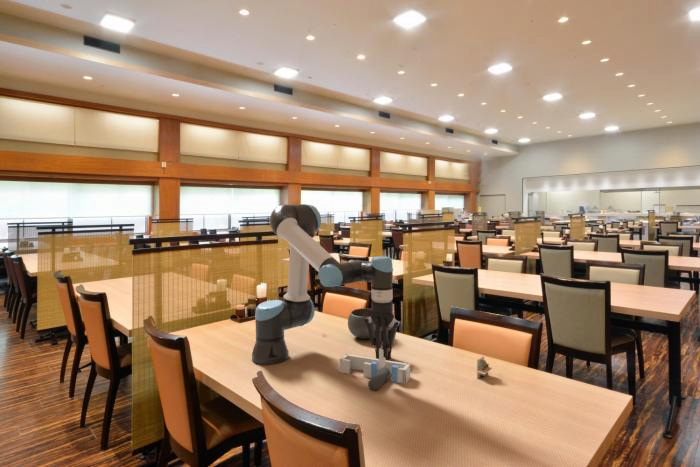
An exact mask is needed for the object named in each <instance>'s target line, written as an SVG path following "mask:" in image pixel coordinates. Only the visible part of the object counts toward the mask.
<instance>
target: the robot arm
mask: <svg viewBox="0 0 700 467" xmlns="http://www.w3.org/2000/svg"><path fill="white" fill-rule="evenodd" d="M269 225H270V228H271V230H272V231H273V233H274V234H275V236H277V237H278V238H279V239H281V240H284V241H286V242H287V243H288V244H289V245H290V246H289V261H288V275H287V276H288V278H287V291H286V293H285V294H283V301H282V300H280V299H273V300H266V301H263V302H261V303H259V304H258V305H257V306H256V308H255V315H254V319H255V342H254V347H253V350H252V353H251V361H252V362H253V363H256V364H258V365H276V364H280V363H282V362H286V361H287V360H288V359H289V358H290V357H289V356H290V354H289V353H290V352H289V350H288V346H287V343H286V340H285V331H286V330H290V329H294V328H297V327H303V326H304V325H308V324H309V323H310V322H312V320H313V318H314V316H315V314H316V313H315V310H316V309H315V305H314V302H313V301H312V299H311V297H310V295H309V294H308V283H309V268H310V265H311V266H312V267H313V268H314V269H315V271H317V272H318V275H317V276H318V277H317V278H318V280H319V281H320V282H319V283H320V284H321V285H322V286H323V287H325V288H326V287H327V288H331V287H332V288H333V287H338V286H342V285H347V284H351V283H352V284H354V283H357V282H366V283H371V284H370V286H371V289H370V291H371V293H370V295H371V306H370V307H371V308H370V309H372V313H371V315H370V317H368V318H366V319H365V320H364V321H365V323H366V324H367V327H368V332H369V336H370V339H369V340H370V344H371V346H372V347H374V348H375V347H376V348H377V356H378V357H379V367H384V366H385V365H386V357H387V356H388V348H391V347H392V348H393V346H394V344H395V338H396V334H397V331H398V327H399V326H400V324H401V321H400V320H397V319H396V318H395V316H394V313H393V311H394V308H393V304H394V303H393V299H394V298H393V295H394V294H393V292H394V291H393V276H394V274H393V273H394V272H393V271H394V267H393V260H392V258H391V257H390V256H372V257H371V260H370V261H369V260H368V261H367V260H361V259H360V260H359V259H350V260H348V261H347V262H340V261H338V260H337V259H336V258H334V257H333V255H331V254H330V253H329V252H328V251H327V250H326V249H325V248H323V246H322V245H321V244H320V243H318V242H317V241H316V240H315V239H314V238H315V234H316V232H317V231H318V230H319V228H320V227H321V225H322V216H321V213H320V211H318V208H317V207H315V206H314V205H311V204H306V203H305V204H304V203H303V204H302V203H299V204H297V203H295V204H288V203H287V204H286V203H285V204H284V203H283V204H280V205H279V206H276V207H275V208H274V209H273V211H272V212H271V214H270V216H269ZM372 320H373V322H374V323H375V325H376V336H375V332H374V328H373V324H372ZM391 324H392V327H391V328H392V330H391V335H390V339H389V343H388V328H389V327H390V325H391ZM381 328H382V330H383V346H381V345H382V336H381Z"/></svg>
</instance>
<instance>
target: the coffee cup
mask: <svg viewBox="0 0 700 467" xmlns="http://www.w3.org/2000/svg"><path fill="white" fill-rule="evenodd" d="M391 330H392V327H391V326H389V328H388V343H389V339H390V335H391ZM374 332H375V336H376V330H375V331H374ZM381 336H382V345H381V346H383V330H382V328H381ZM392 349H393V346H392V347H391V348H388V356H387V357H386V360H388V361H392V355H391V354H392ZM374 350H375V351H374V352H375V359H379V357H378V356H377V348H376V347H375V346H374Z"/></svg>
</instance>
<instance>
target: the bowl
mask: <svg viewBox="0 0 700 467" xmlns="http://www.w3.org/2000/svg"><path fill="white" fill-rule="evenodd" d="M371 313H372V308H368V307H367V308H365V307H364V308H356V309H354V310H352V311H351V312H349V315H348V317H347V329H348V330H349V332H350V333H351V334H352V335H353V336H354V337H356V338H358V339H361V340H362V339H363V340H370V336H369V332H368V327H367V324H366V323H365V321H364V320H365V319H366V318H368V317H370V315H371ZM372 324H373V328H374V331H375V330H376V325H375V323H374V322H373V320H372Z"/></svg>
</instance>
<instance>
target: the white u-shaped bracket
mask: <svg viewBox="0 0 700 467" xmlns="http://www.w3.org/2000/svg"><path fill="white" fill-rule="evenodd" d="M384 367H386V368H388V369H389V371H390V376H391V383H397V384H404V385H407V382H408V381H409V380H410V378H411V364H410V363H405V362H400V361H393V360H389V361H388V360H386V365H385V366H384ZM381 368H383V367H379V359H376V357H375V358H374V357H367V356H361V355H357V354H356V355H355V354H349V353H345V354H344V355H343V356H342V357H341V358H340V359H339V372H340V373H343V374H348V375H350V374H351V370H359V371H363V377H364V378H369V379H372V378H373V377H374V375H375V374H376V373H377V372H378V371H379V370H380V369H381Z"/></svg>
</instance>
